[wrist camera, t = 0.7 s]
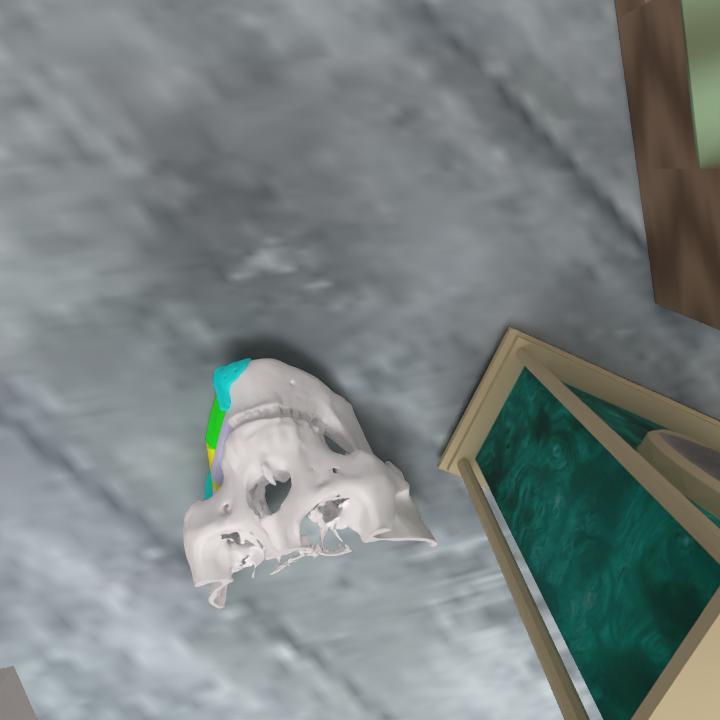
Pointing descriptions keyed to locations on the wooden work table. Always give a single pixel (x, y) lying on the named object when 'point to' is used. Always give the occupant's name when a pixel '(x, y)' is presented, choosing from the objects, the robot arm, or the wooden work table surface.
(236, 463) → the grey piece
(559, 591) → the carriage clock
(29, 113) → the wooden work table surface
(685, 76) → the step stand
